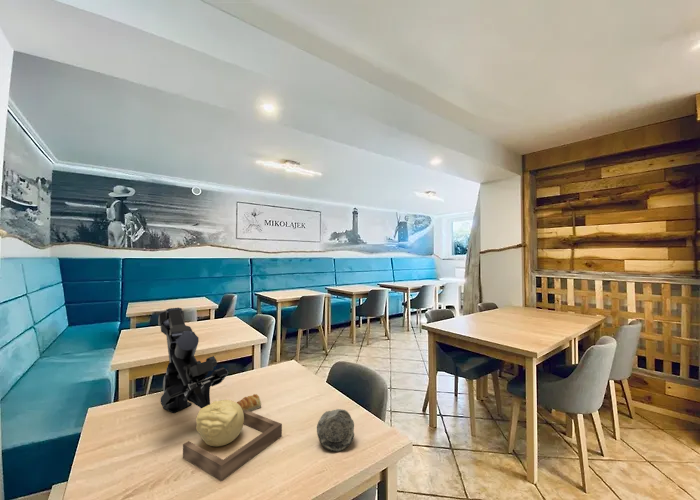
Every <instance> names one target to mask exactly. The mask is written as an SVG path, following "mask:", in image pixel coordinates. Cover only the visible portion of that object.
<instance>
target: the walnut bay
mask: <svg viewBox="0 0 700 500" xmlns="http://www.w3.org/2000/svg"><path fill="white" fill-rule="evenodd" d="M243 413H244V423H243V425H244V426H247V427H250V428H251V429H253V430H254V429H255V430H257V431H259V432H261V433H260V434H259V435H258V436H255V438H253V439H252V440H250V441H248V442H247V443H245V444H244V445H243V446H241V447H239V448H238V449H237V450H235V451H234V452H232V453H231V454H229V455H228V456H226V457H225V458H223V459H222V458H221V457H219V456H217V455H215V454H213V453H212V452H210V451H208V450H206V449H205V448H203V447H200V446H199V445H196V444H195V443H193V442H192V441H189V440H188V441H186V442H184V443H182V459H184V460H185V461H188V462H189V463H191V464H193V465H194V466H196V467H197V468H199V469H201V470H202V471H204V472H205V473H207V474H210V475H211V476H213V477H214V478H215V479H217V480H220V481H221V482H222V481H224V480H225V479H226V478H227V477H230V475H232V474H233V473H234V472H235V471H237V470H238V469H239V468H241V467H242V466H243V465H245V464H247V462H249V461H250V460H252V459H253V458H254V457H256V456H257V455H258V454H260V453H261V452H263V451H264V450H265V449H266V448H268V447H269V446H271V444H273V443H274V442H276V441H277V440H279V439H280V438H281V437H282V436H283V424H282V422H278V421H275V420H273V419H271V418H268V417H265V416H263V415H260V414H258V413H255V412H253V411H247V410H244V411H243Z"/></svg>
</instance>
